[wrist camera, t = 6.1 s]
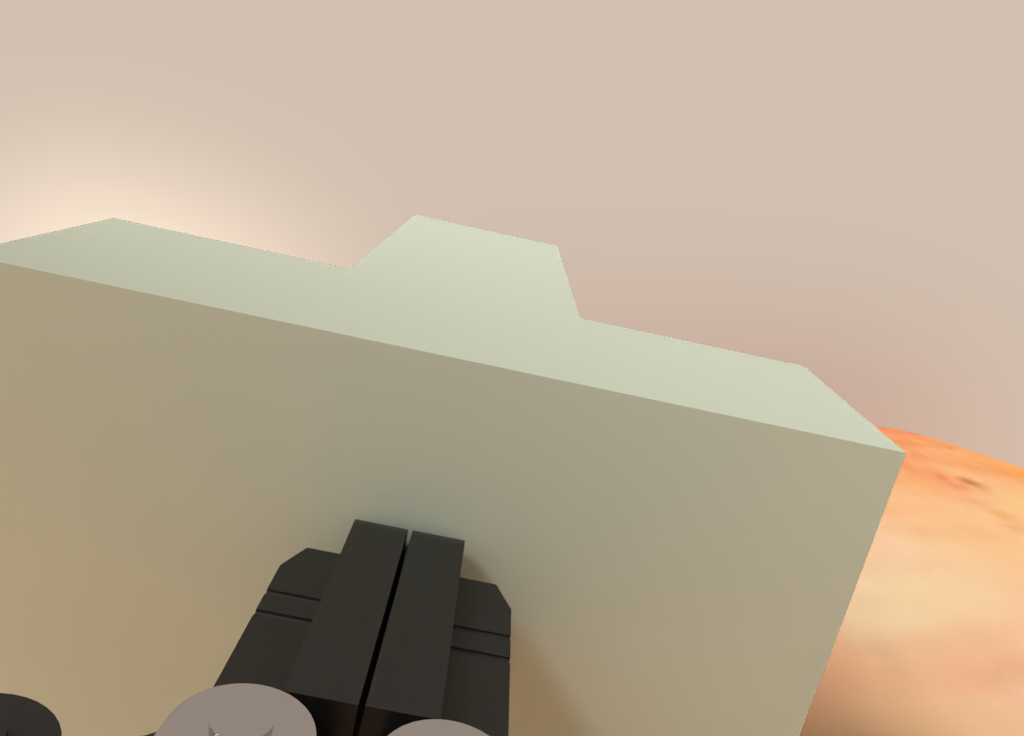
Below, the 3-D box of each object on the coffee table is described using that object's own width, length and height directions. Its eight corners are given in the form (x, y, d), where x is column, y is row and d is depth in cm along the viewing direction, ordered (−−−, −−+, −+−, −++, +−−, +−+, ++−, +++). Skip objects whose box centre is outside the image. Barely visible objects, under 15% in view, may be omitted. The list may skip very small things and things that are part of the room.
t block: (693, 1017, 13) (905, 453, 11) (-61, 888, 13) (-43, 253, 10) (609, 587, 26) (697, 276, 23) (226, 511, 25) (269, 182, 22)
